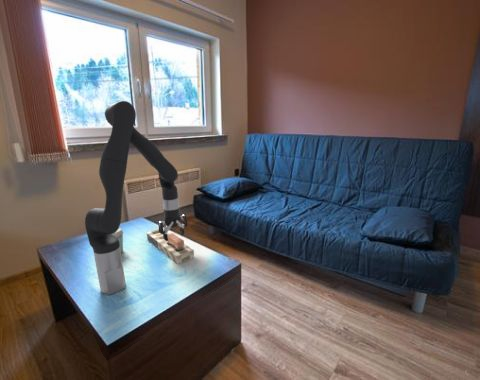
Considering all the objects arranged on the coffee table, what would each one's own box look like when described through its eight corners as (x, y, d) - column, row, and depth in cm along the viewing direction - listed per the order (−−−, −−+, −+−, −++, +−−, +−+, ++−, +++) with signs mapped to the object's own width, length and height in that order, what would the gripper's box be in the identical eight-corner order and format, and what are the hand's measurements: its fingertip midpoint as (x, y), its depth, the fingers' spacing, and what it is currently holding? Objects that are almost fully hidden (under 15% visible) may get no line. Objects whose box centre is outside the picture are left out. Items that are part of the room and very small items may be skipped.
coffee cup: (103, 253, 131) (100, 232, 128) (118, 246, 139) (115, 225, 136) (115, 257, 128) (111, 235, 125) (129, 250, 135) (126, 228, 132)
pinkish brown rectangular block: (185, 256, 128) (183, 240, 125) (178, 258, 125) (177, 242, 123) (173, 247, 136) (172, 233, 134) (167, 250, 134) (166, 235, 132)
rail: (194, 257, 126) (193, 250, 125) (177, 264, 121) (176, 256, 120) (162, 234, 153) (161, 228, 152) (146, 239, 147) (146, 232, 146)
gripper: (160, 212, 118) (164, 245, 122) (188, 205, 127) (190, 235, 131) (153, 208, 123) (157, 239, 127) (180, 201, 132) (183, 231, 136)
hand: (174, 237), depth 129 cm, fingers open, 8 cm apart
